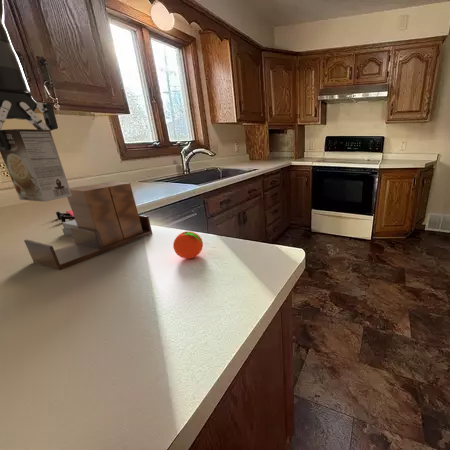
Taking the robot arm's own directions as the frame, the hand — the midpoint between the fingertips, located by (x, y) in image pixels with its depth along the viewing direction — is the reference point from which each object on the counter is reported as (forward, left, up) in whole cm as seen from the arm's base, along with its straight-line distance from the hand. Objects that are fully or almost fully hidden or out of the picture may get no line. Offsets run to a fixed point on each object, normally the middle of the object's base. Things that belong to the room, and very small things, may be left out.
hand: (28, 149), depth 57 cm
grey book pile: (+13, +17, -28) cm, 35 cm away
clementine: (+11, -33, -28) cm, 45 cm away
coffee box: (0, 0, -12) cm, 12 cm away
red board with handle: (+24, +37, -28) cm, 52 cm away
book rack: (+7, -1, -28) cm, 29 cm away
